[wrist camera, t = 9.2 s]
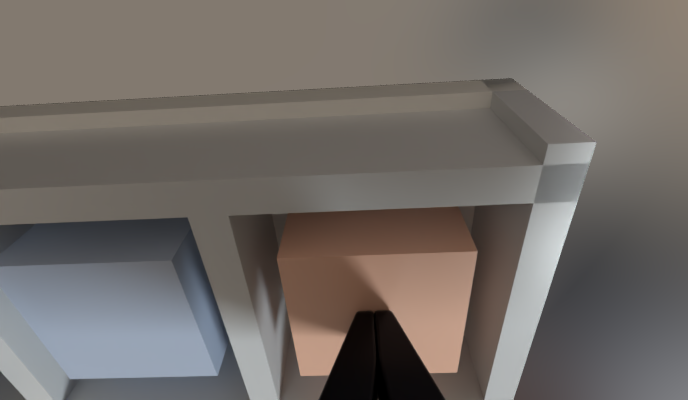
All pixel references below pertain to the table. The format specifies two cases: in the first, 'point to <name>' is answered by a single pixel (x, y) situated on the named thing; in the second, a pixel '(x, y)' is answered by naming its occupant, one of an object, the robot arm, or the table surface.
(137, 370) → the key blue
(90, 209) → the keypad
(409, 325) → the key terracotta
